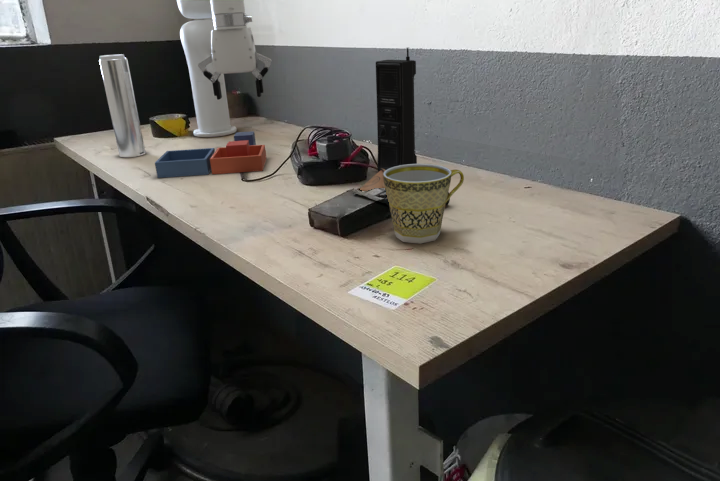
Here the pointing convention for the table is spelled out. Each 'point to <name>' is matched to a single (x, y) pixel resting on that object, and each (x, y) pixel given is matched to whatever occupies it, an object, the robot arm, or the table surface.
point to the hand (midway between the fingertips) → (239, 97)
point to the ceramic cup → (418, 199)
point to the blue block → (245, 137)
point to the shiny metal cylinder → (122, 105)
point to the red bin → (238, 161)
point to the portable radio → (395, 112)
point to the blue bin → (184, 163)
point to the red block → (238, 148)
